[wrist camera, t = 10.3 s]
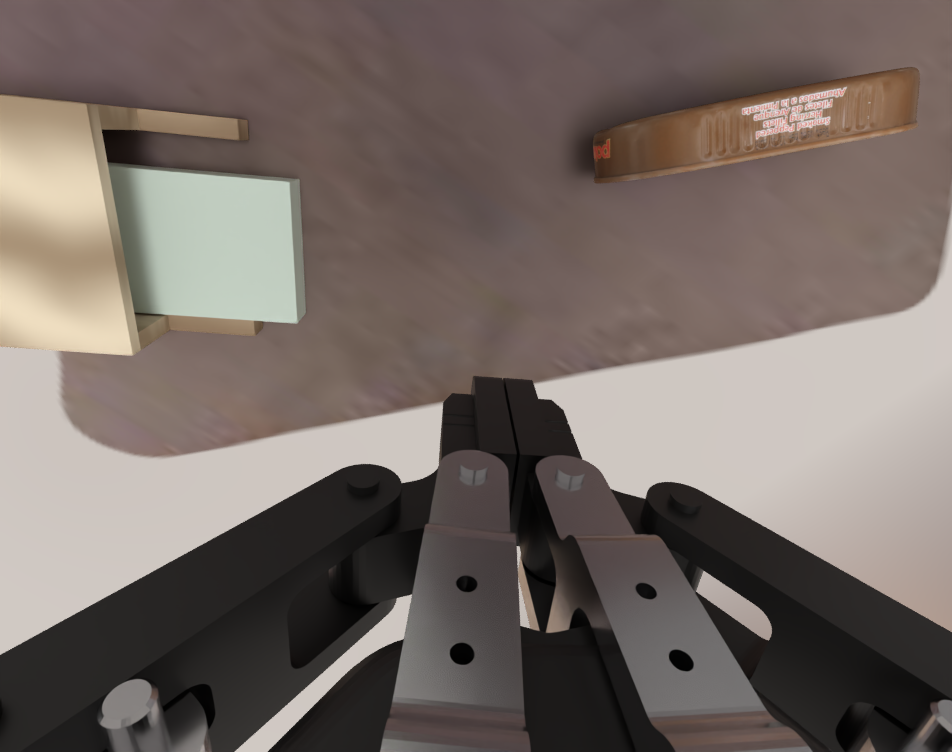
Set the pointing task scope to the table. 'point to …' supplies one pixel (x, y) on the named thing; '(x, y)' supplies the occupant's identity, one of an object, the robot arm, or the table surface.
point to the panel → (211, 243)
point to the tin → (759, 126)
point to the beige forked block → (78, 228)
